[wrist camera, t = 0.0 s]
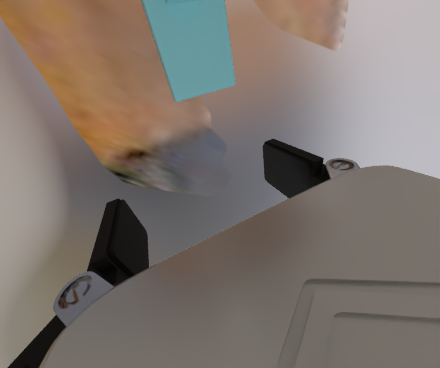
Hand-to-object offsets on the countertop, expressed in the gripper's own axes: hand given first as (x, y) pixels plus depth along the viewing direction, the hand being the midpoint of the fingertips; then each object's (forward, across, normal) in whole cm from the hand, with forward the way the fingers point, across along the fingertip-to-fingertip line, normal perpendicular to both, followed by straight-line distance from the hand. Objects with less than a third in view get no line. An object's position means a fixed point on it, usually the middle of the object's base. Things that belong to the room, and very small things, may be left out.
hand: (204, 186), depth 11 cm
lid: (+25, -9, -10) cm, 29 cm away
